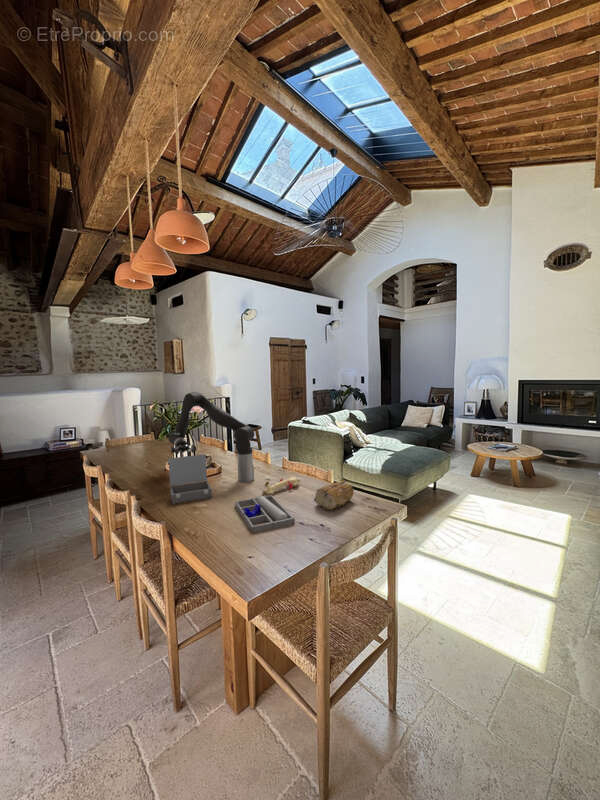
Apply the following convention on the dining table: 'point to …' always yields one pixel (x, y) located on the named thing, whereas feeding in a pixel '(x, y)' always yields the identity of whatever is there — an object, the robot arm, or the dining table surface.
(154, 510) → the dining table surface
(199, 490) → the dark grey box
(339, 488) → the petrified wood
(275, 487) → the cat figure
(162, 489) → the dining table surface
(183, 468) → the cover
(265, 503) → the tube
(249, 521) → the desk organiser
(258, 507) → the cable holder
